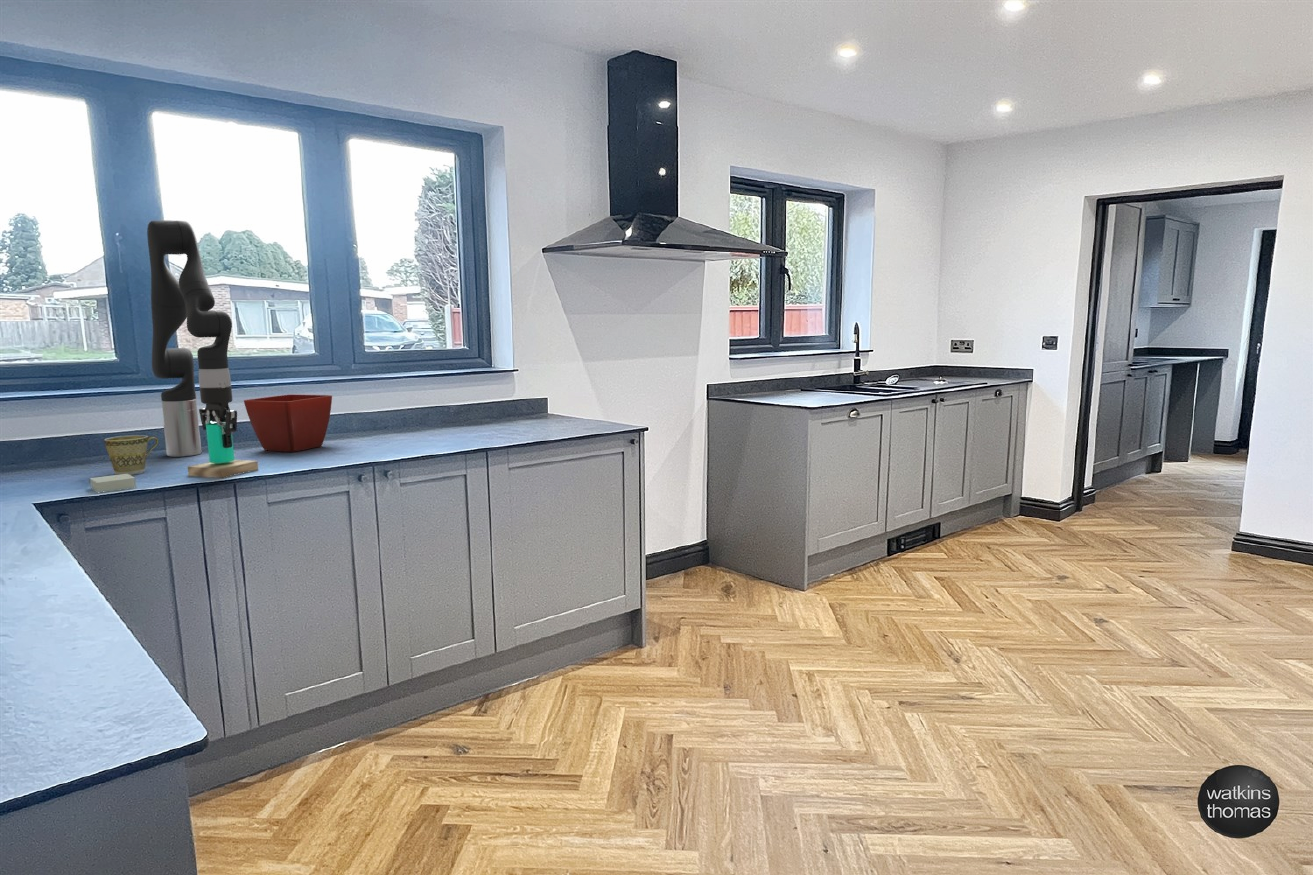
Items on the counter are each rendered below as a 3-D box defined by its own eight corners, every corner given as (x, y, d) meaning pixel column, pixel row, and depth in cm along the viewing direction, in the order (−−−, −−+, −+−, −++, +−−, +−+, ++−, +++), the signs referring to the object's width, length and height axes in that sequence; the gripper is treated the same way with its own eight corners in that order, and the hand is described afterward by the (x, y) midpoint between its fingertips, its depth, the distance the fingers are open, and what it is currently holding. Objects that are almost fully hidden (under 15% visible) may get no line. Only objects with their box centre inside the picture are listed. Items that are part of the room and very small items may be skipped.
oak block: (188, 477, 212) (187, 466, 211) (226, 469, 223) (225, 458, 223) (221, 480, 208) (220, 469, 207) (258, 471, 219) (257, 461, 219)
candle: (209, 463, 211) (204, 420, 209) (210, 460, 216) (205, 417, 215) (234, 461, 214) (230, 418, 212) (234, 458, 219) (230, 416, 217)
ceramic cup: (118, 478, 209) (114, 441, 208) (101, 474, 214) (97, 438, 213) (170, 470, 220) (166, 435, 218) (152, 466, 225) (148, 432, 224)
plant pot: (246, 451, 250) (241, 399, 247) (294, 442, 267) (290, 393, 264) (291, 455, 242) (286, 401, 240) (337, 445, 260) (333, 395, 257)
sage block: (91, 489, 197) (90, 478, 196) (128, 484, 202) (127, 473, 202) (98, 494, 191) (96, 482, 191) (136, 489, 197) (135, 477, 196)
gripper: (186, 385, 212) (192, 446, 215) (217, 387, 205) (223, 450, 208) (213, 383, 218) (219, 442, 221) (244, 385, 211) (250, 446, 214)
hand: (221, 446), depth 214 cm, fingers closed on candle, 5 cm apart
